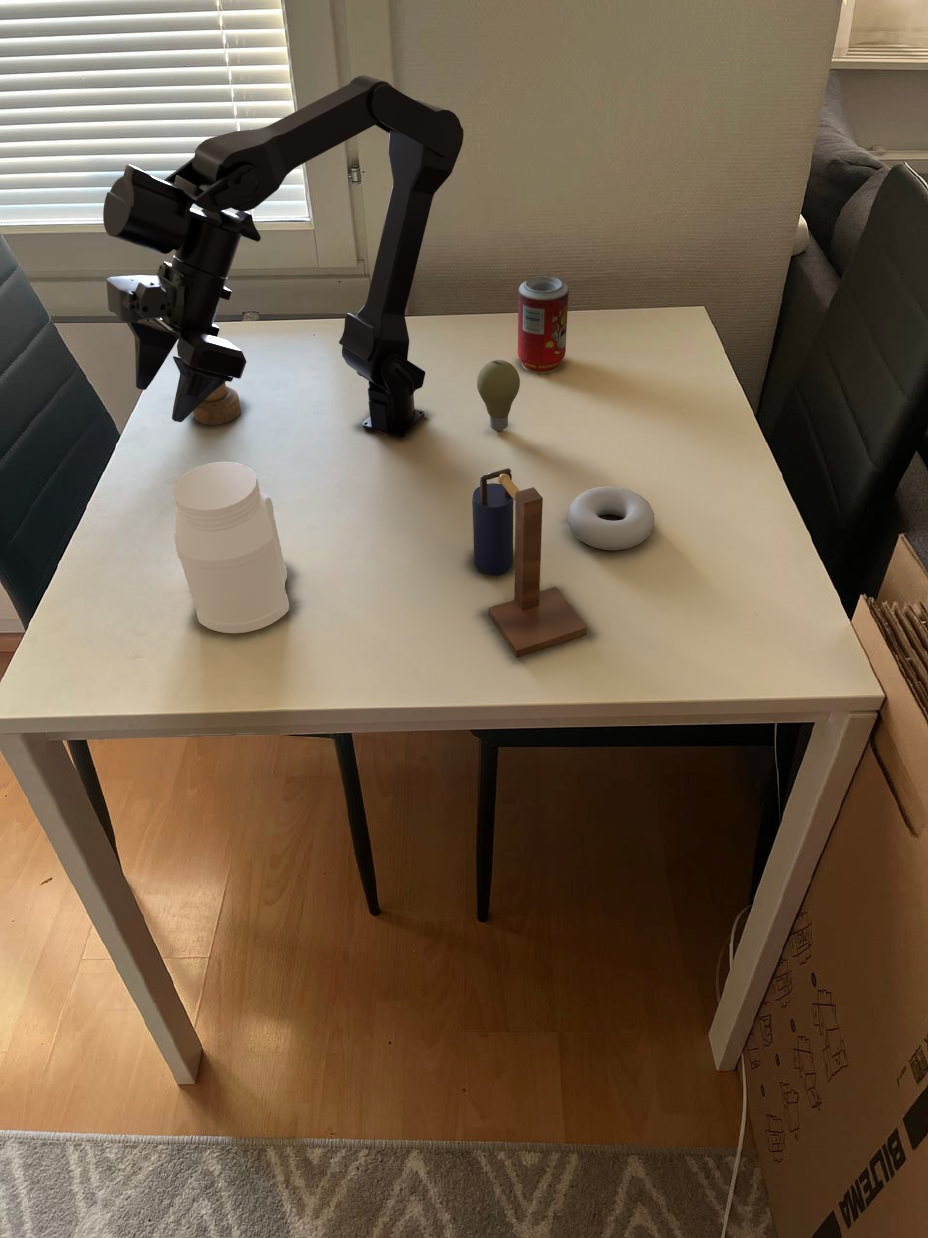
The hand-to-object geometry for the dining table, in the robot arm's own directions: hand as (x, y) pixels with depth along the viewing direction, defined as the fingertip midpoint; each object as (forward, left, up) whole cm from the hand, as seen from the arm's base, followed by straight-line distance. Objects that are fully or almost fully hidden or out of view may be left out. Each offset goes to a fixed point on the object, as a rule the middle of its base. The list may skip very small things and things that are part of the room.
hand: (158, 404), depth 103 cm
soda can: (-51, +25, -15) cm, 59 cm away
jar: (+10, +16, -15) cm, 24 cm away
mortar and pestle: (-20, -11, -15) cm, 28 cm away
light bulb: (-32, +27, -15) cm, 44 cm away
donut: (-18, +48, -15) cm, 53 cm away
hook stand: (-1, +44, -15) cm, 47 cm away
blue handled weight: (-7, +38, -15) cm, 41 cm away
